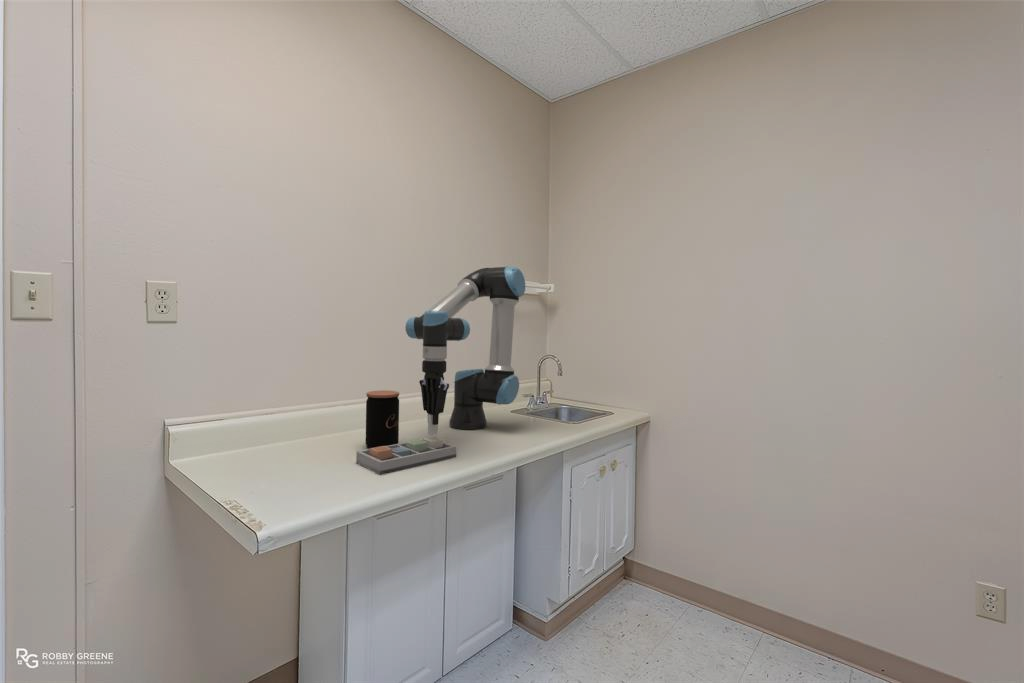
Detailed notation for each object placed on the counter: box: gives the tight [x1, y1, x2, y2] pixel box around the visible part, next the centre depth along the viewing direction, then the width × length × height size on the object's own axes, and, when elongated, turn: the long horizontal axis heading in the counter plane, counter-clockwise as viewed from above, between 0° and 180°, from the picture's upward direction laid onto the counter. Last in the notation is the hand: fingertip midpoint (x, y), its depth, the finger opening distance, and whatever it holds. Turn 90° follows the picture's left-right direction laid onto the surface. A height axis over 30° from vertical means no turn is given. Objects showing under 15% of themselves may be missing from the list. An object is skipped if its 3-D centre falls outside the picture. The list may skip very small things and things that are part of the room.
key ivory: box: [422, 436, 444, 449], centre depth 145 cm, size 5×5×2 cm
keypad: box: [355, 438, 457, 476], centre depth 139 cm, size 26×14×3 cm, turn 135°
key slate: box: [392, 447, 410, 457], centre depth 136 cm, size 5×5×2 cm
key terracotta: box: [369, 446, 392, 460], centre depth 132 cm, size 5×5×3 cm
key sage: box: [405, 439, 427, 452], centre depth 141 cm, size 5×5×3 cm
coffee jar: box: [365, 389, 400, 449], centre depth 153 cm, size 11×11×18 cm
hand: (432, 434), depth 145 cm, fingers closed
